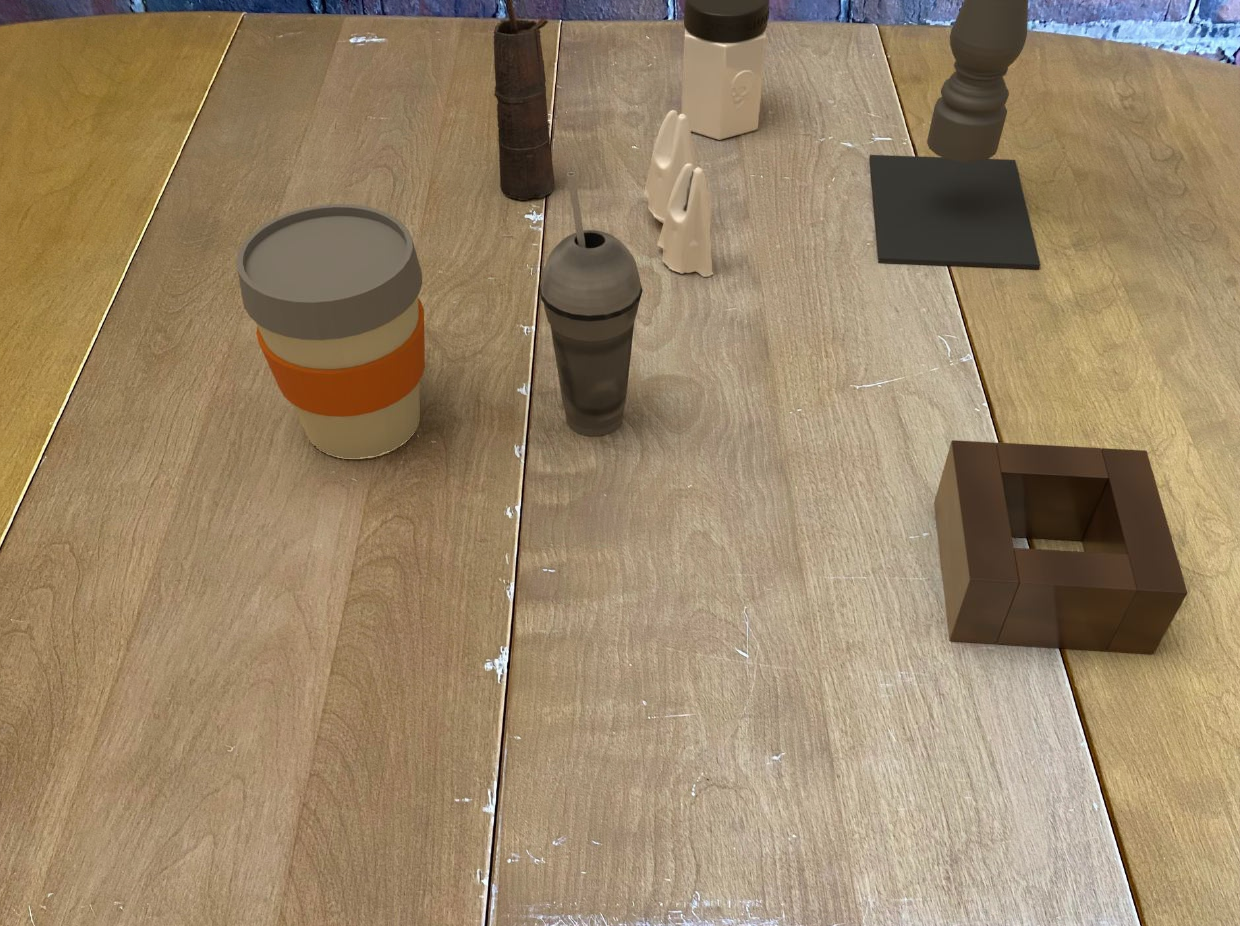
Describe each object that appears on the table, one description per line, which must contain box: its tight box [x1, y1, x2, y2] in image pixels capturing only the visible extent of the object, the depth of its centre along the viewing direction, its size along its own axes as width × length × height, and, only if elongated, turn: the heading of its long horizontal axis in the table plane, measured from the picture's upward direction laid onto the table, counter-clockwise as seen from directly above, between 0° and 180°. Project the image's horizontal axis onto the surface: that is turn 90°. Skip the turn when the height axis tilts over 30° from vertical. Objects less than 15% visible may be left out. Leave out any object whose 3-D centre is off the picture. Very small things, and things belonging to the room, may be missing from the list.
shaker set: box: [642, 109, 714, 278], centre depth 103 cm, size 12×4×11 cm, turn 10°
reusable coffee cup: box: [235, 203, 426, 458], centre depth 86 cm, size 12×13×15 cm
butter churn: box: [493, 0, 556, 201], centre depth 103 cm, size 9×10×28 cm
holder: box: [933, 439, 1188, 655], centre depth 78 cm, size 13×13×6 cm
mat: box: [868, 154, 1041, 270], centre depth 109 cm, size 14×18×1 cm
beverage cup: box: [539, 171, 643, 437], centre depth 84 cm, size 7×7×20 cm
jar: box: [680, 0, 771, 141], centre depth 117 cm, size 9×8×12 cm
